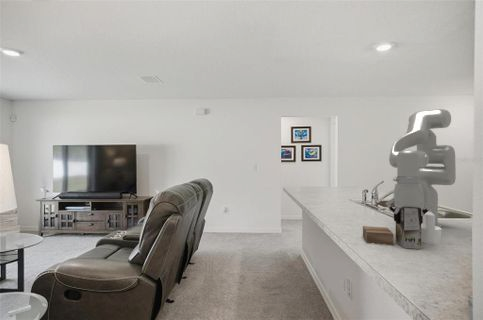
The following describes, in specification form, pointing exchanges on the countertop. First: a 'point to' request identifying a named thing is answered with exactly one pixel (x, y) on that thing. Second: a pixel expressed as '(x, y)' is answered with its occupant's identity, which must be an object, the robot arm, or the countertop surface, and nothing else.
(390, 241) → the walnut block
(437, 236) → the base with upright slab
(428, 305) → the countertop surface
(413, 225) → the coffee box
